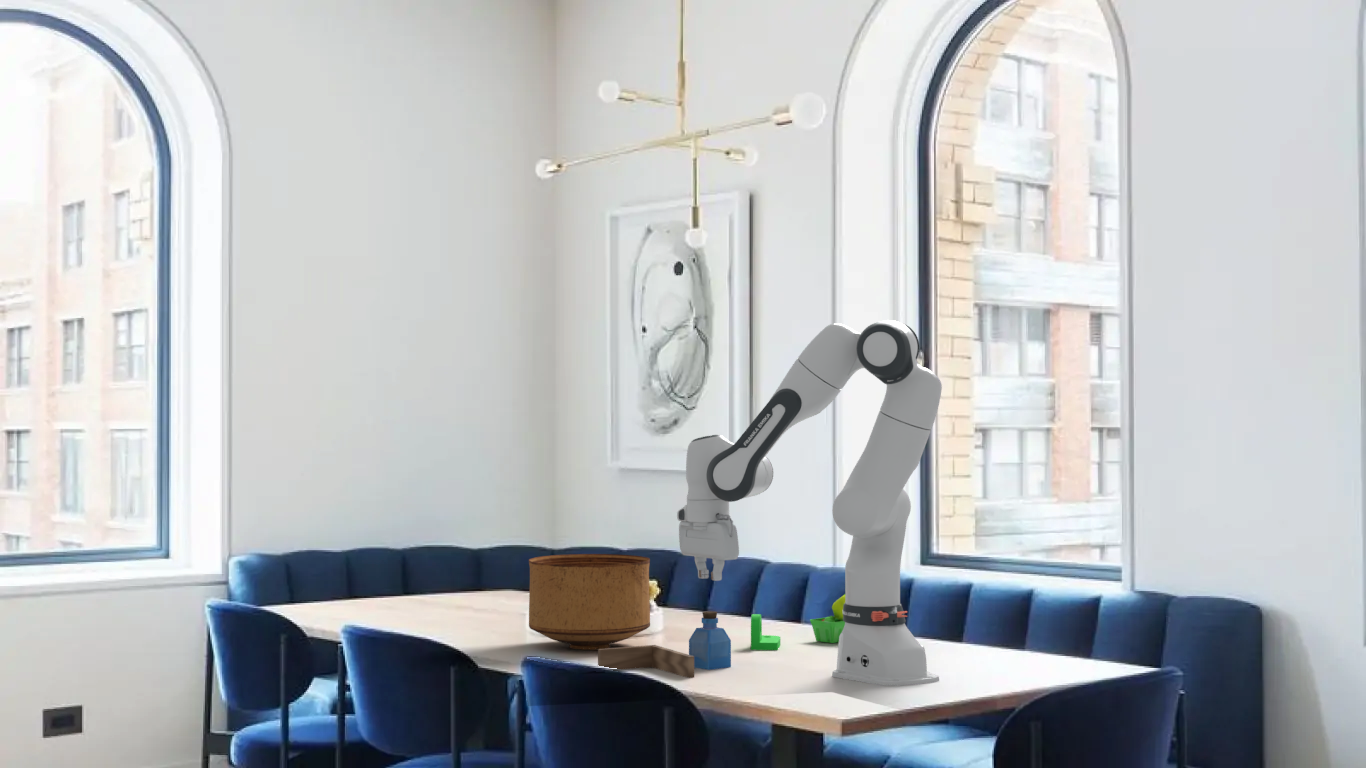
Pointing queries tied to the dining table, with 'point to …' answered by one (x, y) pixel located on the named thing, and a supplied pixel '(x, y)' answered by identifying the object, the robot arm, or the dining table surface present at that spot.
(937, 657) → the dining table surface
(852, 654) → the robot arm
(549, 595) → the pot
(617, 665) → the l-shaped wooden board
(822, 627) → the fruit basket
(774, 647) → the mechanical part
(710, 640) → the perfume bottle
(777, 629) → the dining table surface
